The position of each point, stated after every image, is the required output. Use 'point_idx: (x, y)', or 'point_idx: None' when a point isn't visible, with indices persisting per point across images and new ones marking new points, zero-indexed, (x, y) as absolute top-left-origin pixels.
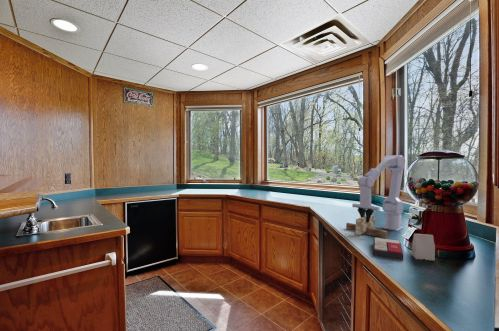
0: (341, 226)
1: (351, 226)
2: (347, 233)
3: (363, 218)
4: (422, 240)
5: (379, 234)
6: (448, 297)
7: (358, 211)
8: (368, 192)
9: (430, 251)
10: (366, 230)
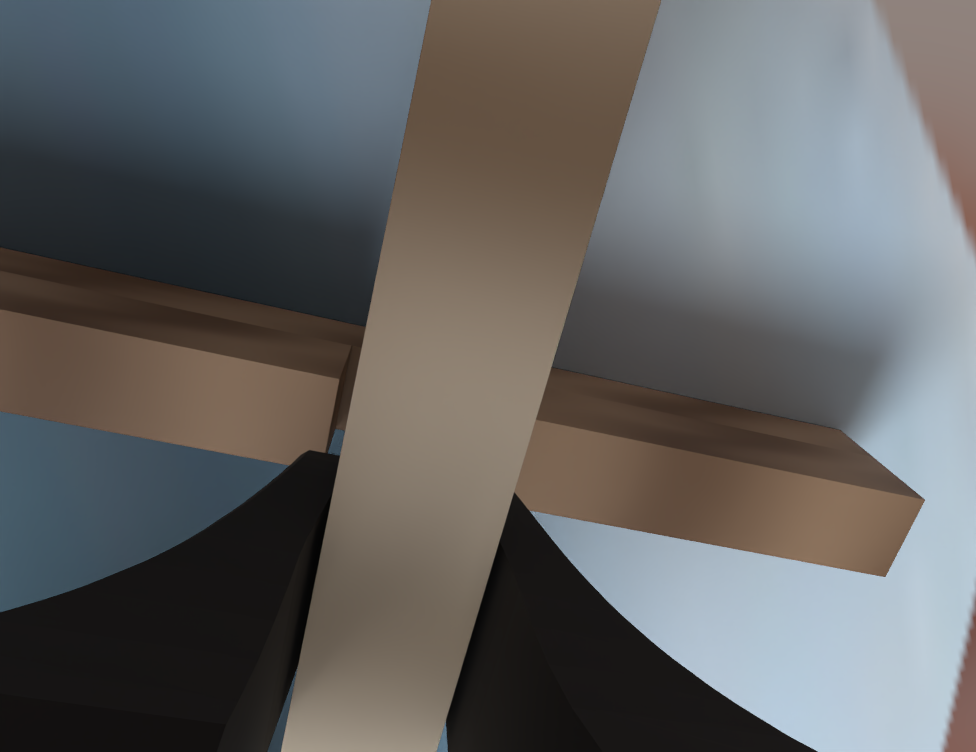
0: (952, 546)
1: (760, 443)
2: (772, 85)
3: (388, 331)
4: None
5: (35, 277)
6: None
7: (778, 735)
8: None
9: None
10: None
